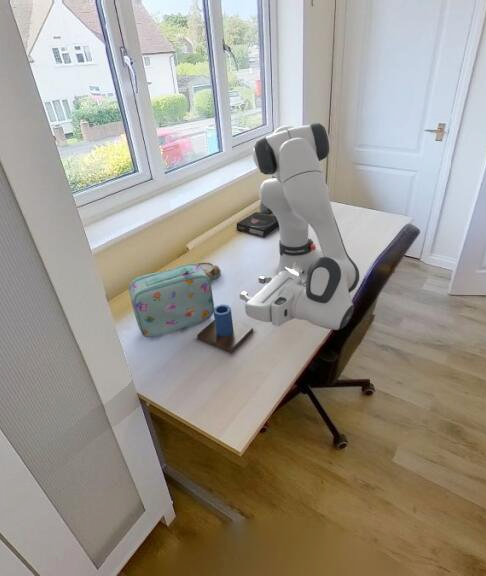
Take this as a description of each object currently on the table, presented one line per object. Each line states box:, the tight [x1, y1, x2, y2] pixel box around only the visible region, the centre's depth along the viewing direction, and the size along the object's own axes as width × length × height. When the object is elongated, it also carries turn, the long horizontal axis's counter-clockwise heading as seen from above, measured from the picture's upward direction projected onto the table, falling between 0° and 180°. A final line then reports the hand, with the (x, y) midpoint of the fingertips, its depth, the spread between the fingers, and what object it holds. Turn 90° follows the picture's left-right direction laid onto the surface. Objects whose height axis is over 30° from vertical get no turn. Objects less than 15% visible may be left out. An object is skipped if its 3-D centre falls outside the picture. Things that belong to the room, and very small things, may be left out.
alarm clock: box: [196, 261, 222, 283], centre depth 161 cm, size 11×5×15 cm
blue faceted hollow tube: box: [213, 304, 233, 337], centre depth 127 cm, size 5×5×9 cm
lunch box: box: [128, 263, 215, 339], centre depth 131 cm, size 27×10×21 cm, turn 117°
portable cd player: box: [235, 211, 279, 239], centre depth 198 cm, size 16×17×4 cm
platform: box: [196, 319, 254, 355], centre depth 128 cm, size 14×12×9 cm
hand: (250, 286), depth 112 cm, fingers open, 8 cm apart
